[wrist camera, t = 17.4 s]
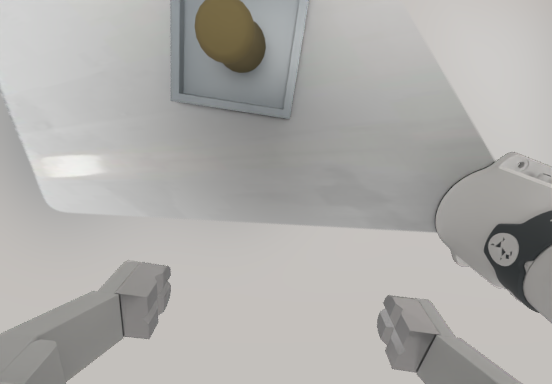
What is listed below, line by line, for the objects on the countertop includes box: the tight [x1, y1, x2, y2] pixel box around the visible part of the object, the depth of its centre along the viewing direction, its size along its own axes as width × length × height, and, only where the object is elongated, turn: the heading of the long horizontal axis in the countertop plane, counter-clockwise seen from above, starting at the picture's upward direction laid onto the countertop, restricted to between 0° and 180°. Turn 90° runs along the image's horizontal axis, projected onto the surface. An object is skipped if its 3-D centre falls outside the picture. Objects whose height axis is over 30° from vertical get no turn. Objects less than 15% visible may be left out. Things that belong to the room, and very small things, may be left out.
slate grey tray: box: [171, 0, 309, 119], centre depth 31 cm, size 15×15×2 cm
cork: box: [195, 0, 266, 73], centre depth 27 cm, size 6×6×11 cm
